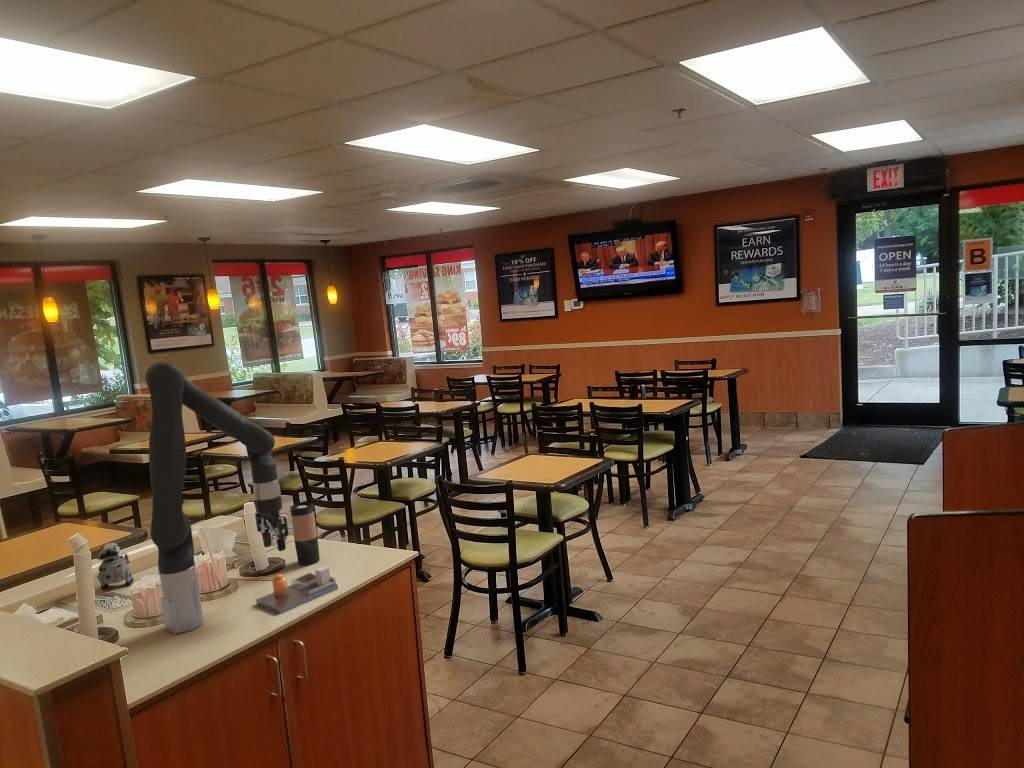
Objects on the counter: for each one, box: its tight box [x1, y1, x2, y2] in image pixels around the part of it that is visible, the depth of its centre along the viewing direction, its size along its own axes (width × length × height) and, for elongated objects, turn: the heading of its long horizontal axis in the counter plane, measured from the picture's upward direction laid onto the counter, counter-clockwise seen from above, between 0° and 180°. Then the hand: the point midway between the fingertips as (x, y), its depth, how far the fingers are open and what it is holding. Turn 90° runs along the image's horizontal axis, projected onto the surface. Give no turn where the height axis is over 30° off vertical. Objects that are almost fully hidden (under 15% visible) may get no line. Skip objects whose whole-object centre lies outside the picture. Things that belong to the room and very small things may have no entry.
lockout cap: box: [271, 573, 288, 597], centre depth 218 cm, size 4×4×6 cm
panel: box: [255, 572, 339, 615], centre depth 218 cm, size 20×13×3 cm, turn 138°
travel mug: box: [289, 501, 321, 567], centre depth 247 cm, size 8×8×20 cm
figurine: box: [96, 542, 135, 591], centre depth 239 cm, size 9×12×15 cm
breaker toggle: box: [314, 566, 331, 586], centre depth 222 cm, size 3×3×5 cm
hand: (274, 548), depth 216 cm, fingers open, 7 cm apart
